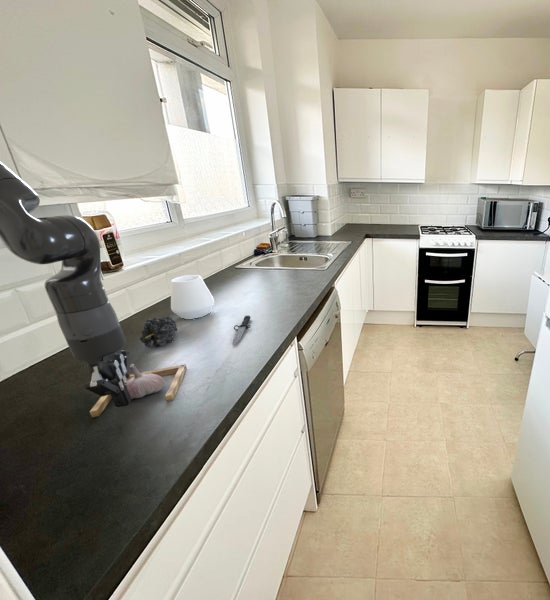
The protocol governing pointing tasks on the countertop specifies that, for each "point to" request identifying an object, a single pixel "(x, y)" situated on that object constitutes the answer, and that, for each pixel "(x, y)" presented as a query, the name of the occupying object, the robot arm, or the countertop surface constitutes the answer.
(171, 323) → the fruit
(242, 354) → the countertop surface
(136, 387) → the garlic bulb
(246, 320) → the knife
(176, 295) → the white tapered hollow cylinder
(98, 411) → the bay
